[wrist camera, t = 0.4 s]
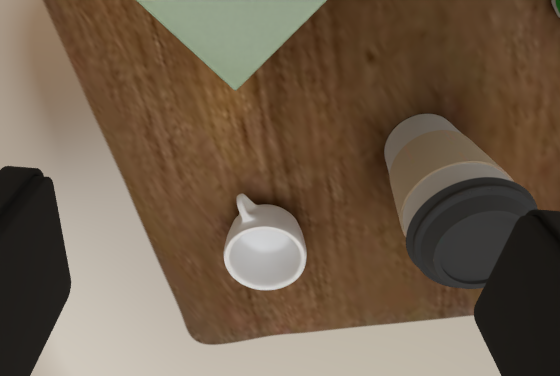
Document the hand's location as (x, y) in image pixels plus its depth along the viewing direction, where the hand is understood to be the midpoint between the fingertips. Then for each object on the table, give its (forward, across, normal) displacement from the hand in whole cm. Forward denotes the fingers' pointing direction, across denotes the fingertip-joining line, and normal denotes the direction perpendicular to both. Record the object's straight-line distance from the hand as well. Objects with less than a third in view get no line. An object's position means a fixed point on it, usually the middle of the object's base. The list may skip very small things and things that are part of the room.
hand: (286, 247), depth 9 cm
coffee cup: (+30, -15, +12) cm, 36 cm away
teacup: (+30, -1, +21) cm, 37 cm away
